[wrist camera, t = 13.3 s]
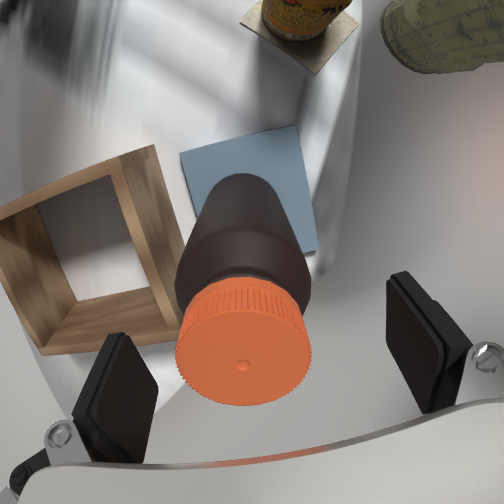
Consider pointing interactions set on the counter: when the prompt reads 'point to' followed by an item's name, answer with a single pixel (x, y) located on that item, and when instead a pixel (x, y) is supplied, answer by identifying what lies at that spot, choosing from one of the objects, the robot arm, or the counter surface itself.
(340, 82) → the counter surface
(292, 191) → the mat
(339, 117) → the counter surface
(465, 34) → the thermos
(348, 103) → the counter surface
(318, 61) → the condiment
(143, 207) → the crate
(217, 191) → the vinegar
